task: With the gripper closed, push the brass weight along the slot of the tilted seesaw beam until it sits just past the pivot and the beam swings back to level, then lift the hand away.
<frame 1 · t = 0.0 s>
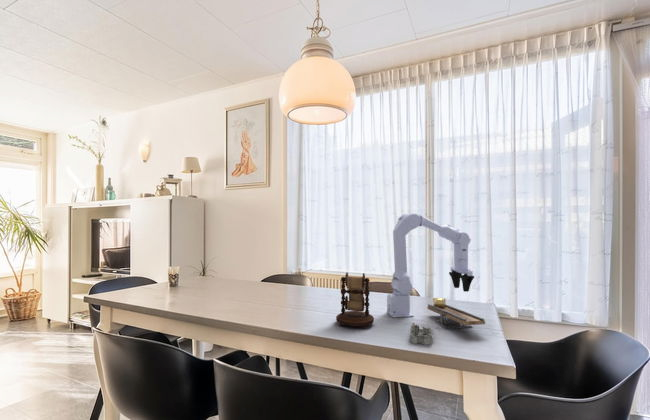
hand: (461, 289, 144), 10 cm above the table, tool pointing down, fingers open, 7 cm apart
beam: (453, 313, 126), point 4 cm above the table, hinge at -3.6°, touching brass weight
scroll: (354, 324, 127), on the table
pivot bracket: (453, 324, 126), on the table
egg carton: (421, 340, 110), on the table
brass weight: (439, 307, 137), point 4 cm above the table, touching beam
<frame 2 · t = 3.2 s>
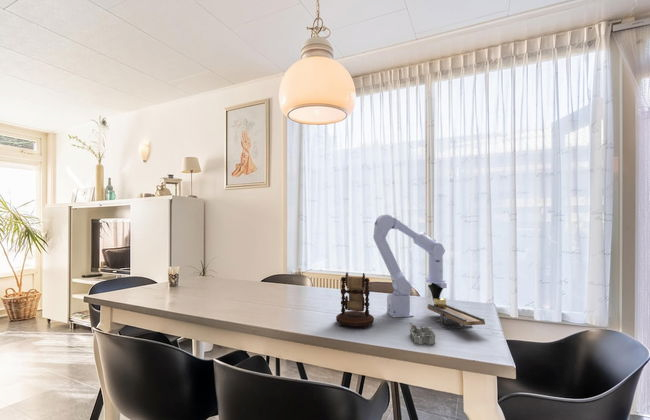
hand: (436, 301, 140), 6 cm above the table, tool pointing down, fingers closed
beam: (453, 313, 126), point 4 cm above the table, hinge at -3.3°, touching brass weight
brass weight: (440, 307, 136), point 4 cm above the table, touching beam, gripper
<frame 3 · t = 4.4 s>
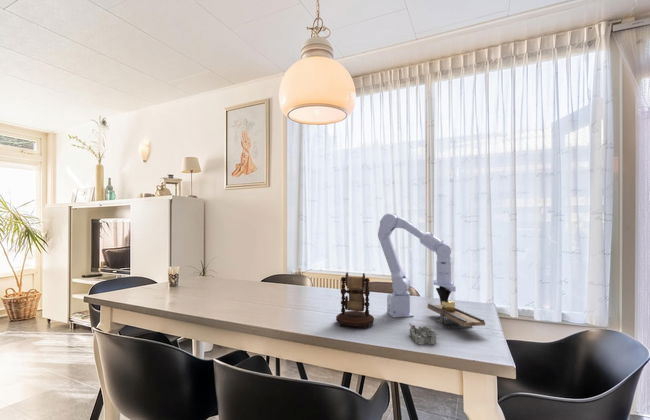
hand: (444, 305, 133), 6 cm above the table, tool pointing down, fingers closed
beam: (453, 313, 126), point 4 cm above the table, hinge at -2.1°
brass weight: (448, 310, 130), point 5 cm above the table, touching gripper
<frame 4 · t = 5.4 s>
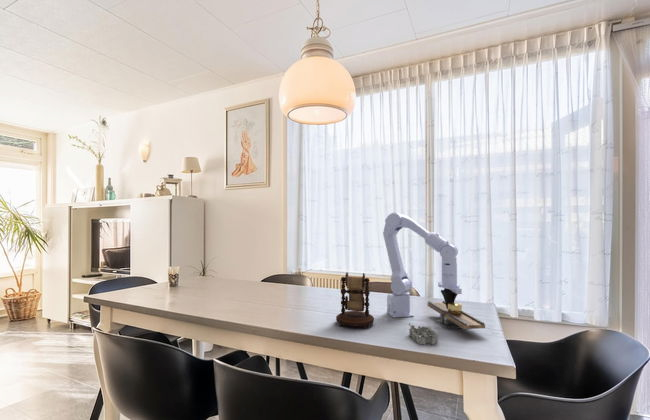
hand: (449, 308, 129), 6 cm above the table, tool pointing down, fingers closed
beam: (453, 313, 126), point 4 cm above the table, hinge at 1.9°
brass weight: (454, 313, 125), point 5 cm above the table, touching gripper
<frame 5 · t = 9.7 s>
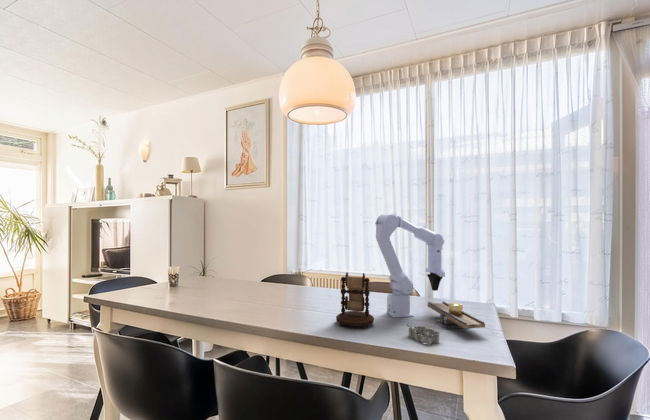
hand: (434, 290, 145), 9 cm above the table, tool pointing down, fingers closed
beam: (453, 313, 126), point 4 cm above the table, hinge at 0.8°, touching brass weight
brass weight: (455, 313, 125), point 5 cm above the table, touching beam
at the end: beam at +1° (first picture: -4°); brass weight 0.7 cm off-centre on the beam, point 1.2 cm above the beam's base; brass weight touching beam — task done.
